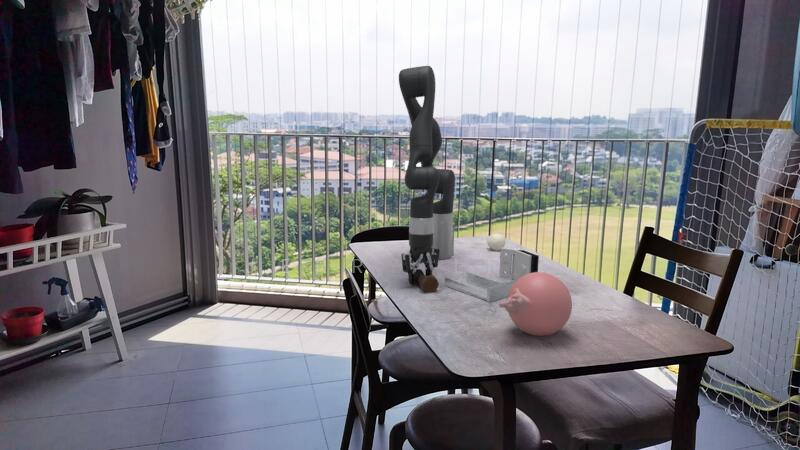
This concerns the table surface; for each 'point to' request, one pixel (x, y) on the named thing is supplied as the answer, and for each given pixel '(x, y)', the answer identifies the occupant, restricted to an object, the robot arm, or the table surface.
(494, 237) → the white ball
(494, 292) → the tray
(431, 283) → the bolt
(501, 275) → the hinge
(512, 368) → the table surface
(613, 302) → the table surface
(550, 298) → the balloon
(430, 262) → the robot arm
